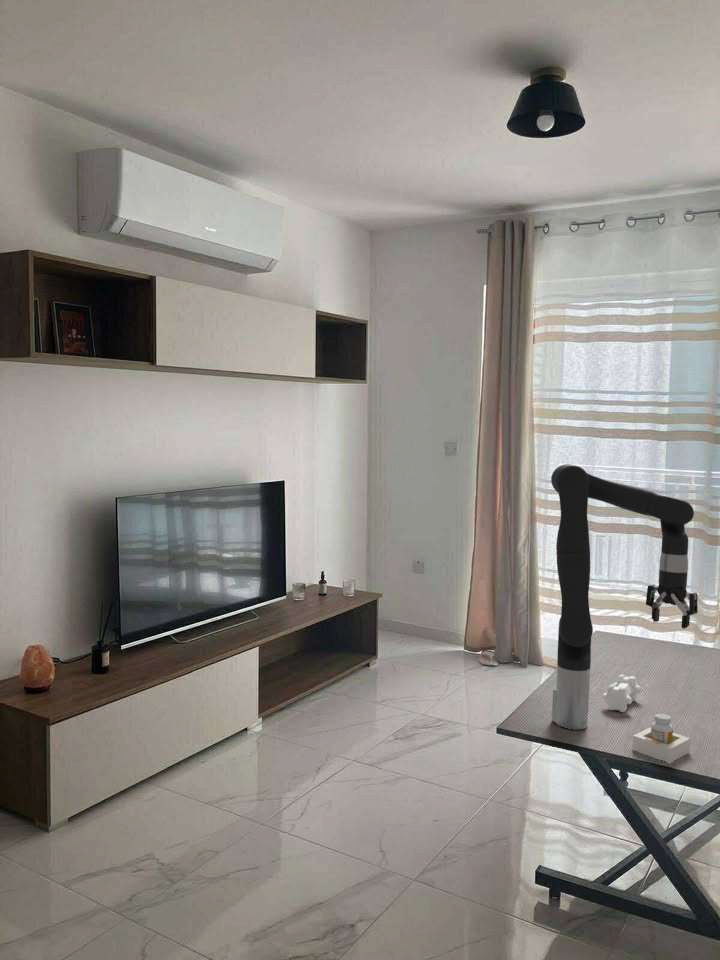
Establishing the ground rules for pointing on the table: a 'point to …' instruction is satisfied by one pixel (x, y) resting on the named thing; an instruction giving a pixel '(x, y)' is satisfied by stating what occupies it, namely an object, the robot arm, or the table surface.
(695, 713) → the table surface
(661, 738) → the supplement bottle
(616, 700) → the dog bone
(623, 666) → the table surface
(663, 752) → the socket block
